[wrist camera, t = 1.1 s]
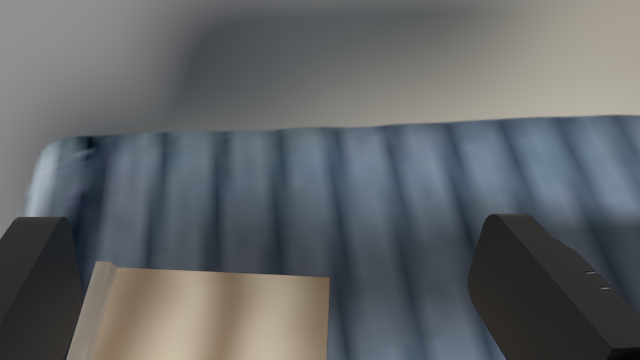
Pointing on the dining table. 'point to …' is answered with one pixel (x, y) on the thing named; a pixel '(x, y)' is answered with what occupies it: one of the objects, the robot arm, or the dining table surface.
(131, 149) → the dining table surface
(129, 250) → the dining table surface
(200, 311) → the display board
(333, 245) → the dining table surface
